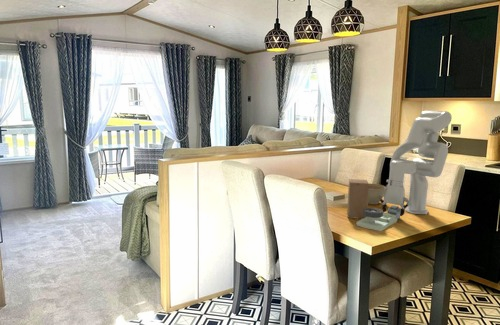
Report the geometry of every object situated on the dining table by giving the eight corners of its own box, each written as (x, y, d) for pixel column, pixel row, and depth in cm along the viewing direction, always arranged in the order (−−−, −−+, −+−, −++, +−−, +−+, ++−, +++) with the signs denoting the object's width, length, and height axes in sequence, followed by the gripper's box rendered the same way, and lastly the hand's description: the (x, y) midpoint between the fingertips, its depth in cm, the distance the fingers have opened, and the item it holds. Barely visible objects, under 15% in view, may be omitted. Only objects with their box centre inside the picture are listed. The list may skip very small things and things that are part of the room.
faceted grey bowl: (368, 211, 205) (368, 207, 204) (384, 215, 199) (385, 210, 198) (360, 215, 198) (361, 210, 197) (377, 218, 192) (378, 214, 192)
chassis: (374, 216, 217) (374, 202, 215) (397, 221, 208) (398, 207, 207) (356, 225, 200) (357, 210, 199) (380, 231, 192) (382, 215, 190)
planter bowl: (352, 201, 247) (353, 185, 245) (368, 198, 257) (369, 182, 255) (374, 207, 234) (375, 190, 233) (389, 203, 244) (391, 187, 242)
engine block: (391, 216, 217) (391, 204, 216) (399, 218, 214) (400, 206, 213) (386, 218, 213) (387, 206, 212) (395, 220, 210) (396, 208, 208)
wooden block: (366, 218, 212) (368, 183, 208) (347, 217, 213) (349, 182, 210) (364, 213, 221) (367, 179, 218) (347, 212, 223) (349, 178, 220)
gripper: (377, 181, 213) (375, 211, 215) (409, 186, 202) (406, 218, 204) (383, 180, 218) (380, 209, 221) (414, 185, 207) (411, 215, 210)
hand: (392, 213), depth 212 cm, fingers open, 9 cm apart
